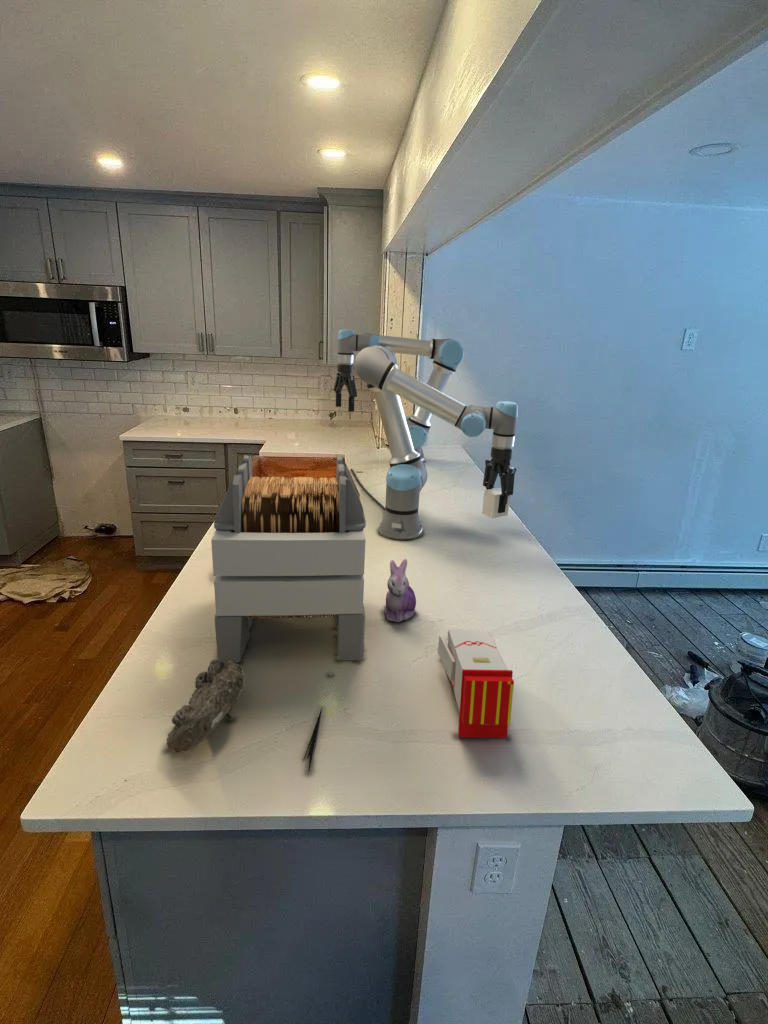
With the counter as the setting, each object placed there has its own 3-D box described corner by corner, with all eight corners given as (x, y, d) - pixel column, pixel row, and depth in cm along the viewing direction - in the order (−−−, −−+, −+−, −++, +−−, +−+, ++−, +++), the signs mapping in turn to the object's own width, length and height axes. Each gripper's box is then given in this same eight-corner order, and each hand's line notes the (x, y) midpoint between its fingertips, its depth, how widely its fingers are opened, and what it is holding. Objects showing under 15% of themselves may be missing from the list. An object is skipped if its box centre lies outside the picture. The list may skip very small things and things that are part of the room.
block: (492, 518, 202) (495, 494, 199) (481, 513, 206) (484, 490, 203) (507, 515, 205) (510, 492, 202) (496, 510, 210) (499, 487, 207)
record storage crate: (236, 591, 155) (228, 445, 141) (355, 589, 159) (359, 447, 145) (214, 665, 123) (202, 486, 109) (364, 661, 127) (370, 487, 113)
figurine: (392, 627, 141) (395, 572, 136) (374, 608, 149) (376, 556, 144) (425, 619, 145) (429, 566, 140) (405, 601, 154) (408, 550, 149)
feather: (331, 679, 122) (336, 673, 122) (307, 777, 96) (313, 769, 95) (324, 675, 122) (329, 669, 121) (298, 772, 95) (304, 764, 95)
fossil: (192, 660, 117) (244, 628, 112) (224, 691, 120) (276, 661, 115) (142, 746, 98) (202, 712, 93) (182, 779, 101) (242, 748, 96)
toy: (488, 613, 130) (523, 677, 101) (484, 667, 133) (517, 744, 104) (435, 612, 130) (455, 676, 101) (432, 666, 133) (451, 743, 103)
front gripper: (529, 452, 191) (521, 516, 199) (492, 440, 207) (485, 500, 214) (513, 454, 188) (505, 519, 196) (476, 442, 203) (470, 503, 211)
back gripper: (365, 366, 259) (363, 412, 266) (340, 361, 279) (340, 404, 286) (350, 366, 255) (349, 413, 262) (327, 361, 275) (326, 405, 282)
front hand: (495, 509), depth 205 cm, fingers closed on block, 6 cm apart
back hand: (344, 409), depth 274 cm, fingers open, 13 cm apart
